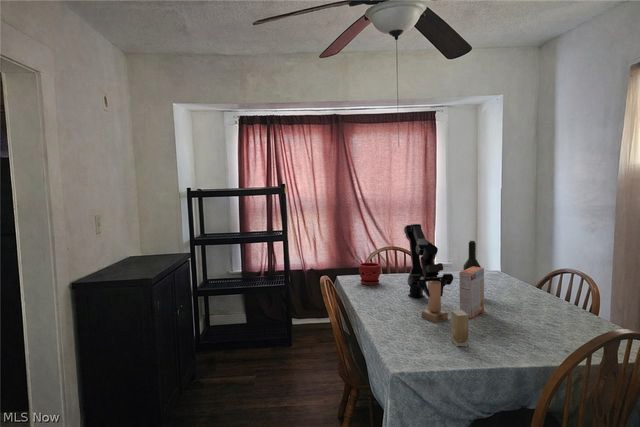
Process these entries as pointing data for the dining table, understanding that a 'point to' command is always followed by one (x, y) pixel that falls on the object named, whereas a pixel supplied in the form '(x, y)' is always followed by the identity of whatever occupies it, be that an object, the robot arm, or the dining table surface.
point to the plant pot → (369, 273)
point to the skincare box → (459, 327)
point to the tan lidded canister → (434, 296)
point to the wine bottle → (471, 256)
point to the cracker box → (472, 291)
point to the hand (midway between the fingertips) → (435, 296)
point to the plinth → (434, 315)
